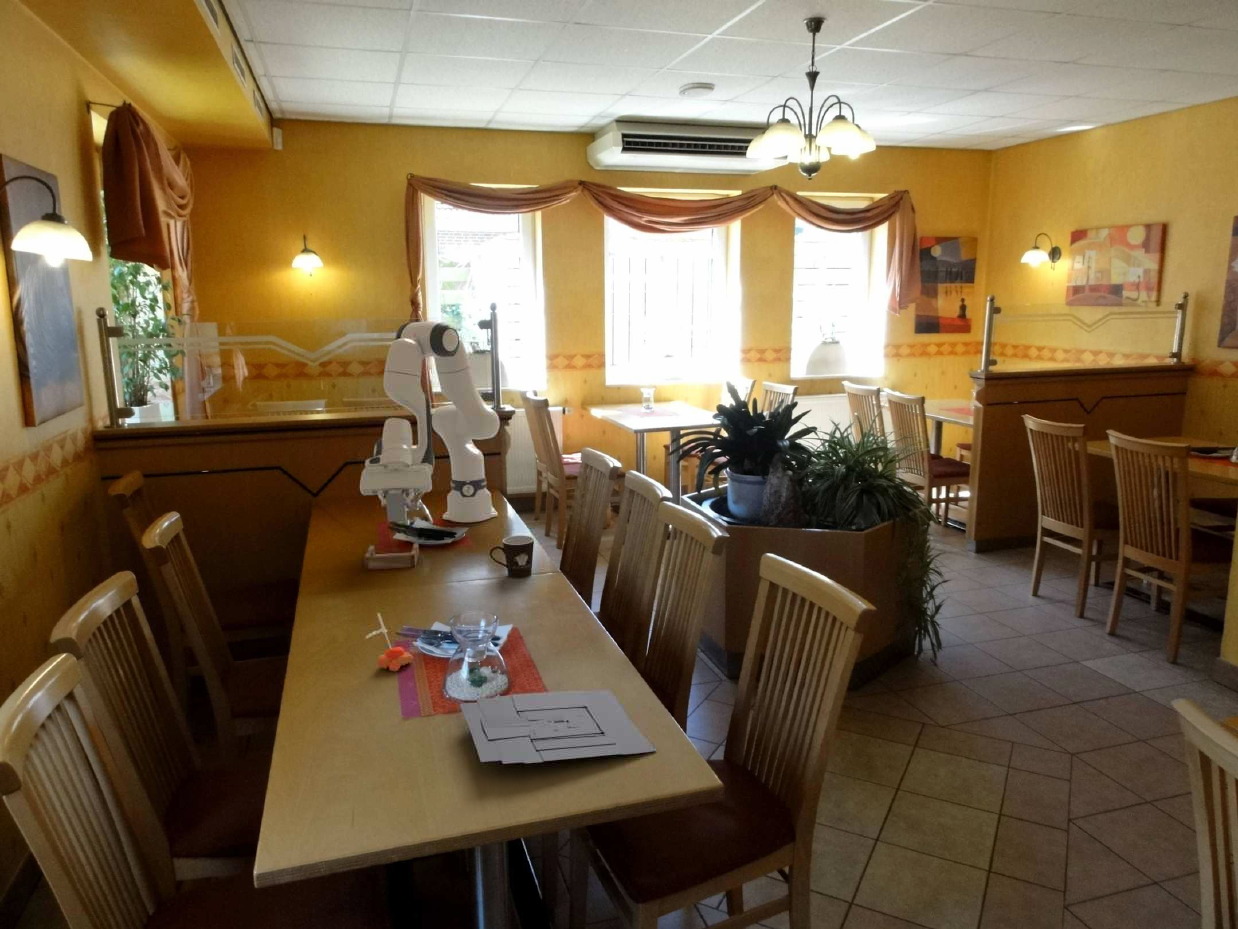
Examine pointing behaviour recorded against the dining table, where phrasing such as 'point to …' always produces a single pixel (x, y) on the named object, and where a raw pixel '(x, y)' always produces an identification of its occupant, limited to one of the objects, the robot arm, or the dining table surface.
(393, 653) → the orange flower
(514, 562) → the coffee mug
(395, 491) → the grey upright block
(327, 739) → the dining table surface
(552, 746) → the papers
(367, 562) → the bay
